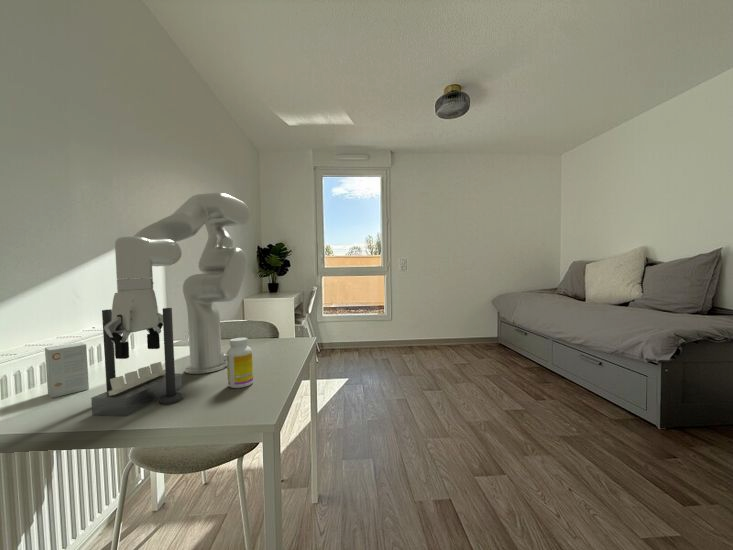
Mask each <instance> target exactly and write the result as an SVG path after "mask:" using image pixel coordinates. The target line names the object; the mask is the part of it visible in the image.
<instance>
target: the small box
mask: <svg viewBox="0 0 733 550" xmlns="http://www.w3.org/2000/svg"><path fill="white" fill-rule="evenodd" d="M87 350H88V349H87V344H86V343H84V342H81V341H79V342H75V343H74V342H73V343H67V344H66V343H65V344H59V345H54V346H48V347H47V346H46V347H44V354H45V355H44V358H45V372H46V384H47V386H46V389H47V394H48V395H49V397H50V398H51V399H53V397H54V398H58V397H62V396H66V395H71V394H74V393H78V392H79V393H80V392H83V391H88V390H89V389H90V386H89V385H90V384H89V382H90V381H89V368H88V353H87V352H88V351H87Z"/></svg>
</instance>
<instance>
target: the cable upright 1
mask: <svg viewBox="0 0 733 550" xmlns="http://www.w3.org/2000/svg"><path fill="white" fill-rule="evenodd" d="M101 318H102V331H103V333H102V335H103V336H102V337H103V349H104V352H103V353H104V365H105V366H104V367H105V385H106V392H107V391H109V390H112V386H111V382H110V379H112V378H115V377H117V376H116V374H117V373H116V361H115V360H116V358H115V343H113V342H112V340H111V339H110V338H109V337H108V334H107V333H106V331H105V329H104V326H105V325H107V324H108V323H109V322H111V321H112V308H110V309H102V310H101Z"/></svg>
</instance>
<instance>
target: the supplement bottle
mask: <svg viewBox="0 0 733 550" xmlns="http://www.w3.org/2000/svg"><path fill="white" fill-rule="evenodd" d="M248 339H249V338H248V337H237V338H231V339H229V346H230V348H229V349H227V351H226V354H227V361H226V362H227V366H226V367H227V369H226V370H227V385H228V386H229V387H230V388H234V389H240V388H241V389H242V388H245V387H246V388H247V387H248V386H251V385H252V384H253V383H254V368H253V365H254V364H253V351H252V348H251V347H250V346H248V342H249V341H248Z"/></svg>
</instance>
